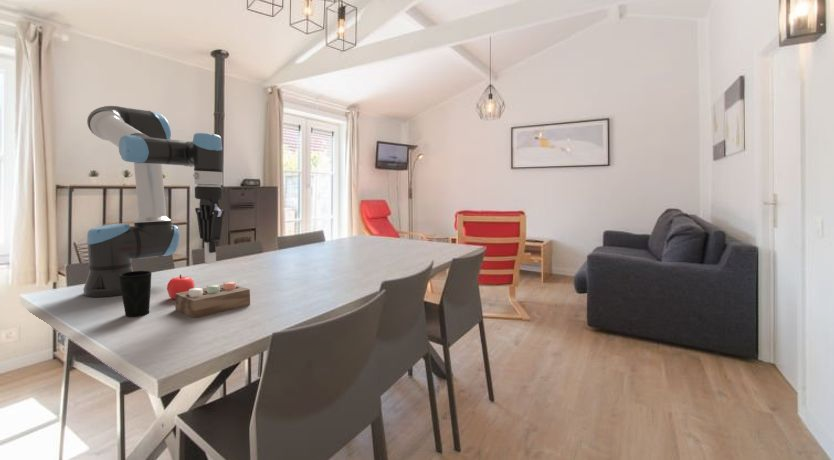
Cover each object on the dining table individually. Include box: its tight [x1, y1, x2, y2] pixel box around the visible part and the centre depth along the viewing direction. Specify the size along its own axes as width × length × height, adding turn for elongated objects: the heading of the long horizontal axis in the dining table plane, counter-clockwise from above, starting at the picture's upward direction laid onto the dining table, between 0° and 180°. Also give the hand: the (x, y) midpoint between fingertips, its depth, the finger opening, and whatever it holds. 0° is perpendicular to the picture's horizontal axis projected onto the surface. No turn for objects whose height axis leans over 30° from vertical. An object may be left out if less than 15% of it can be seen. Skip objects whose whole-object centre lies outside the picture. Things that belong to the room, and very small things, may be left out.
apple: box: [166, 274, 195, 300], centre depth 130 cm, size 8×8×8 cm
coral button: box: [222, 281, 237, 291], centre depth 124 cm, size 4×4×4 cm
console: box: [174, 284, 251, 319], centre depth 120 cm, size 12×17×5 cm
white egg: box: [189, 287, 203, 298], centre depth 116 cm, size 4×4×4 cm
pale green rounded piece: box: [206, 284, 221, 294], centre depth 120 cm, size 4×4×4 cm
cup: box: [119, 270, 152, 318], centre depth 112 cm, size 8×8×12 cm
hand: (210, 262), depth 120 cm, fingers closed
